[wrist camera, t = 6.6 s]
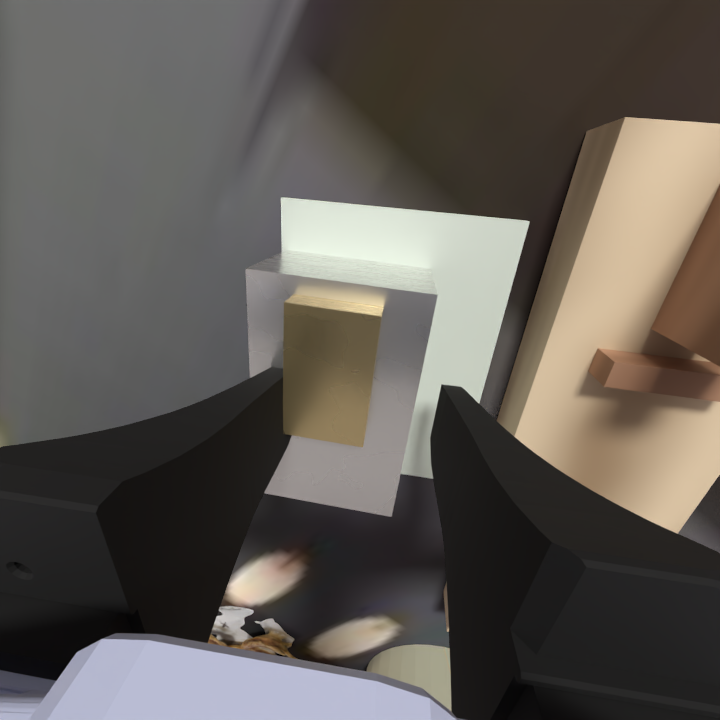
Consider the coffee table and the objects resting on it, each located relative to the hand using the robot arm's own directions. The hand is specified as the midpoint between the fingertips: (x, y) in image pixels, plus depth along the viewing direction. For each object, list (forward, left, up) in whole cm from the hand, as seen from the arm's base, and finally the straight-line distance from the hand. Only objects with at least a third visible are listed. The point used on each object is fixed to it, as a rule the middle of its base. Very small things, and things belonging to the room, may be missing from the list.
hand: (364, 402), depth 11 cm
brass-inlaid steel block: (+1, 0, -3) cm, 3 cm away
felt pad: (0, 0, -3) cm, 3 cm away
